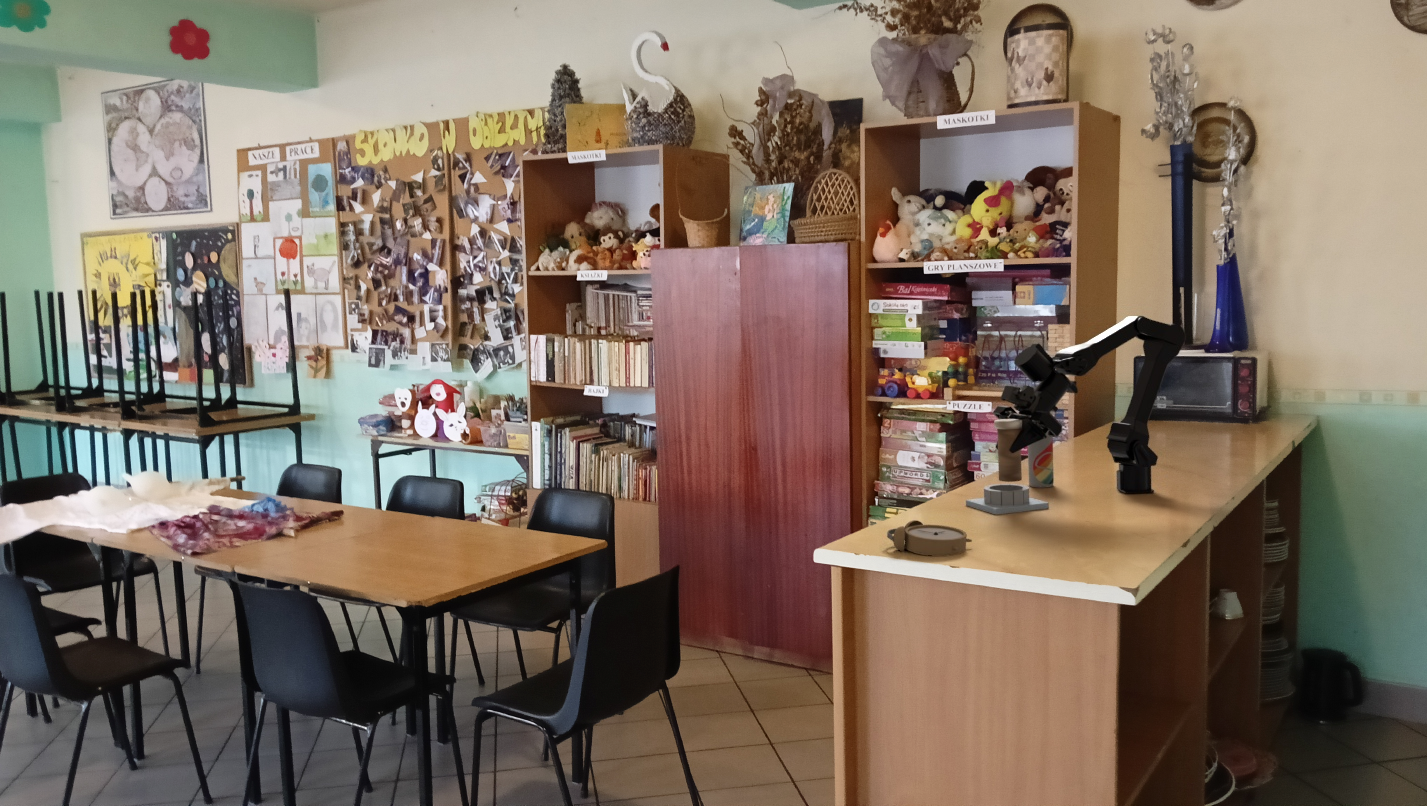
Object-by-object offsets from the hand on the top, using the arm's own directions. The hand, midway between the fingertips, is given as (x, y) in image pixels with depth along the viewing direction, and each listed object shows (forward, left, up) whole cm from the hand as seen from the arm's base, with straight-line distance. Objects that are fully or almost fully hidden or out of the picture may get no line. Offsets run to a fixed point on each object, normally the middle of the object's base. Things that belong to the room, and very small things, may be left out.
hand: (1003, 450), depth 232 cm
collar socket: (0, 0, -12) cm, 12 cm away
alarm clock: (+22, +35, -13) cm, 44 cm away
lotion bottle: (-14, -24, -13) cm, 30 cm away
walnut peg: (-1, 0, -7) cm, 7 cm away
